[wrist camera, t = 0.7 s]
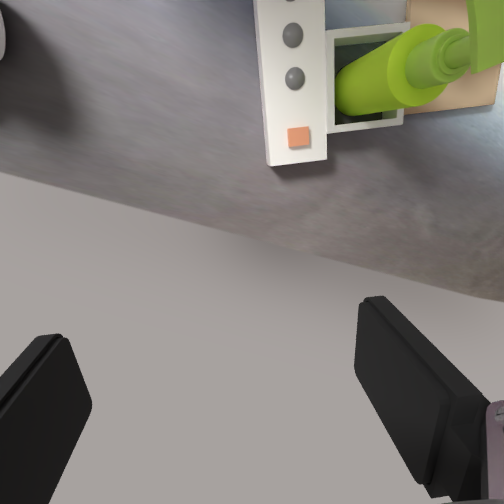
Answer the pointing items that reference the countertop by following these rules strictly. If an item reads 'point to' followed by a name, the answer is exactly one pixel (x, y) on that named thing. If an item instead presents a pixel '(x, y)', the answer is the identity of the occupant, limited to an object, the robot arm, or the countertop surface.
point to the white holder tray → (306, 77)
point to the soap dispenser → (421, 63)
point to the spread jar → (2, 37)
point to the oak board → (469, 85)
